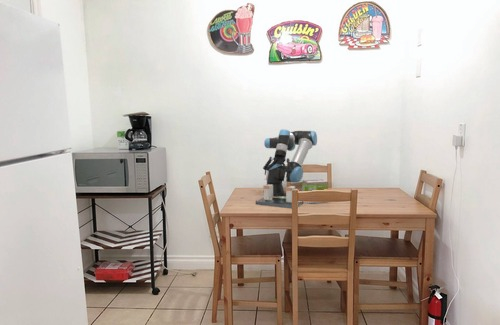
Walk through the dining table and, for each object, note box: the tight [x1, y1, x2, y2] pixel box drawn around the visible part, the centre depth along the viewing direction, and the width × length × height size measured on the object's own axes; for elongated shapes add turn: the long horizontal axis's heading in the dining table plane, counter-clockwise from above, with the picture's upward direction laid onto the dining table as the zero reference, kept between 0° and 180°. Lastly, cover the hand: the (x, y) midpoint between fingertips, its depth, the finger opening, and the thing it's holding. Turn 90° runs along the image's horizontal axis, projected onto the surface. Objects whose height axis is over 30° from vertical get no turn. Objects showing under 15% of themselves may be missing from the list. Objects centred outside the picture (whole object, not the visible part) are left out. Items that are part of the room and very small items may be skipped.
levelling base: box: [255, 195, 304, 209], centre depth 236 cm, size 16×28×4 cm, turn 64°
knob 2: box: [285, 185, 296, 203], centre depth 232 cm, size 8×5×10 cm, turn 154°
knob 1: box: [262, 184, 274, 201], centre depth 239 cm, size 8×5×10 cm, turn 154°
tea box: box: [301, 178, 329, 204], centre depth 241 cm, size 15×10×15 cm, turn 106°
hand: (275, 181), depth 234 cm, fingers open, 13 cm apart
